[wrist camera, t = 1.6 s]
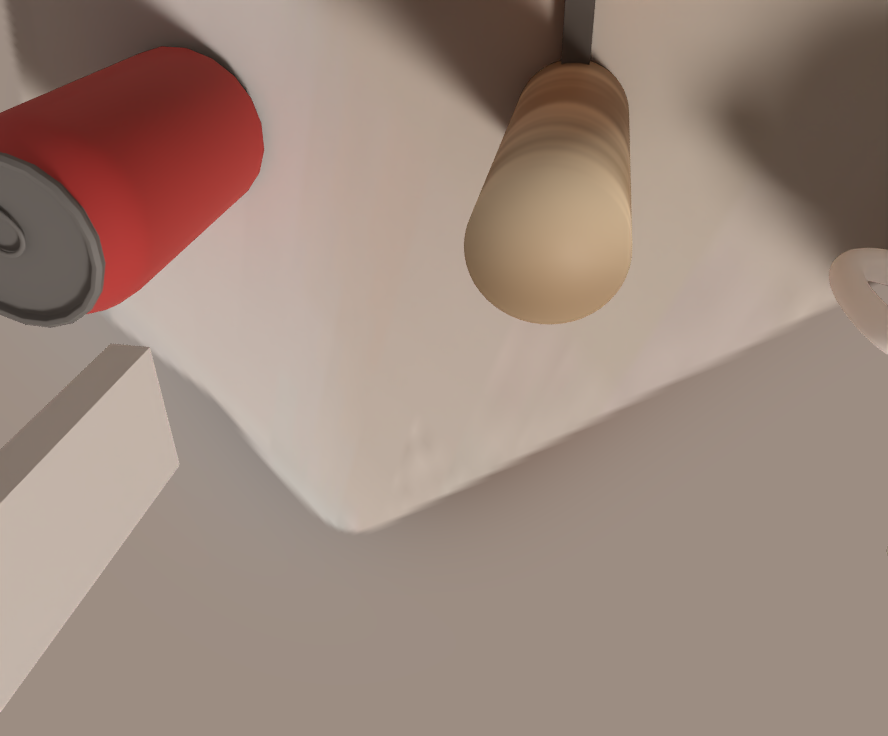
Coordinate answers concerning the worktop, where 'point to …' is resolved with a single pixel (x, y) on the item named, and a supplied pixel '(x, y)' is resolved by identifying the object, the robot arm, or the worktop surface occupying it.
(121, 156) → the beer can
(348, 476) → the worktop surface
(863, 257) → the cup
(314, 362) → the worktop surface
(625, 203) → the tethered cylinder
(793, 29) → the worktop surface
